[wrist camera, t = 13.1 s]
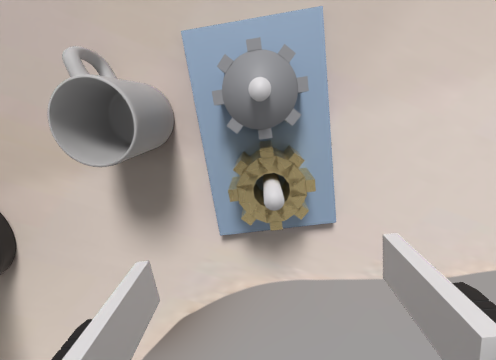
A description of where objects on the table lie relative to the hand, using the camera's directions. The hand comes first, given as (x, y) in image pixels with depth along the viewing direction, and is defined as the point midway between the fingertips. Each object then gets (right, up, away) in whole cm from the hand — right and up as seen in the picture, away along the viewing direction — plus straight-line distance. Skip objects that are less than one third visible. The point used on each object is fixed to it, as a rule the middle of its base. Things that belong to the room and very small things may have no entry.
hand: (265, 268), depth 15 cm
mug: (-16, +15, +20) cm, 29 cm away
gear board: (+1, +11, +20) cm, 23 cm away
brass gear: (+2, +5, +20) cm, 21 cm away
